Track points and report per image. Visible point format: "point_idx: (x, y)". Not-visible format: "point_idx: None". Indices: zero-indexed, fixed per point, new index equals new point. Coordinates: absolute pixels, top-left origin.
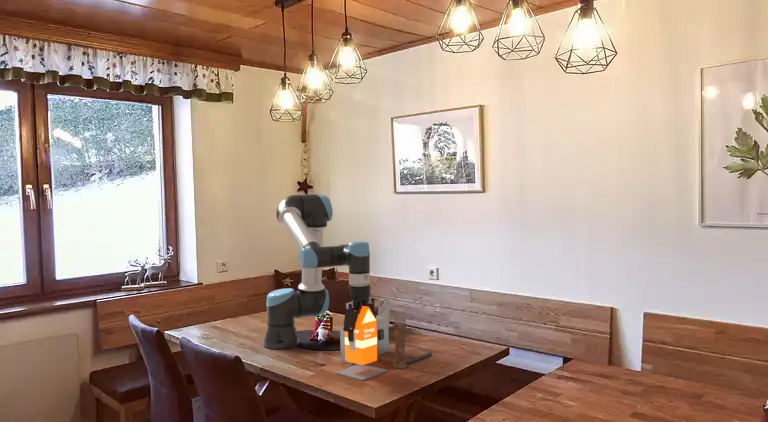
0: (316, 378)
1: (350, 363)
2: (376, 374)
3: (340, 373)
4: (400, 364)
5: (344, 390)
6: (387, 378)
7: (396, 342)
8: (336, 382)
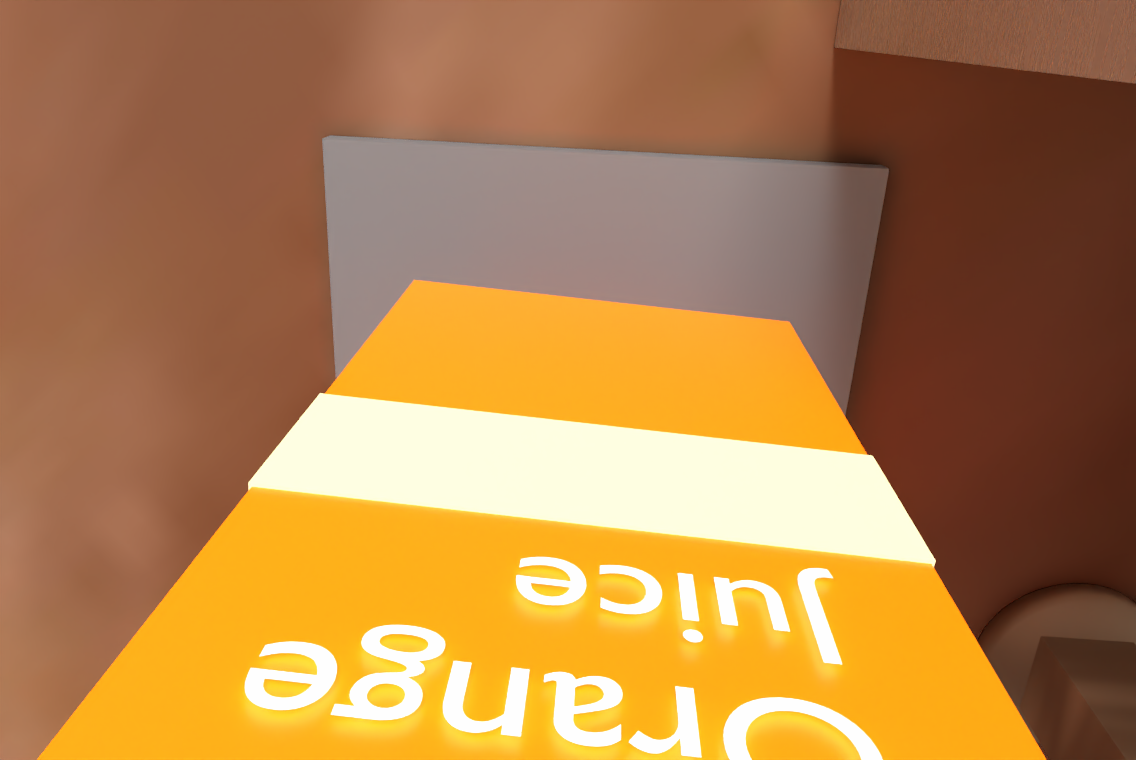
0: (6, 20)
1: (844, 3)
2: None
3: (331, 235)
4: (1027, 717)
5: (15, 597)
6: None
7: None
8: (111, 369)
